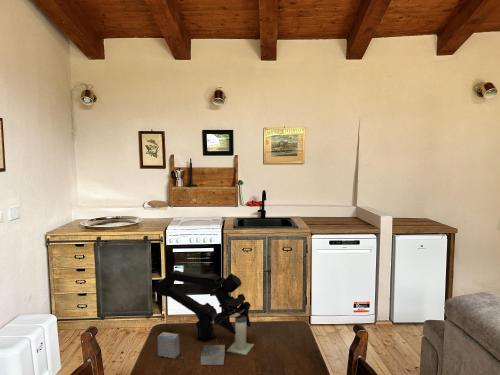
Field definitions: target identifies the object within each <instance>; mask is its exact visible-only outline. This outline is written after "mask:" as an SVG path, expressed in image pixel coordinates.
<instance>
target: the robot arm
mask: <svg viewBox="0 0 500 375" xmlns="http://www.w3.org/2000/svg"><path fill="white" fill-rule="evenodd" d="M174 282H180V283H182V282H183V283H187V284H193V285H197V286H200V287H201V288H203V289H206V290H208V291H210V294H209V297H214V296H215V298H216V299H217V302H218V303H219V305H218V307H219V308H221V309H222V310H223V311H221V312H218V311H217V309H216V308H215V306H213V305H211V304H210V303H209V302H205V303H204V304H202V303H200V302H198V301H197V300H195V299H194V298H192V297H191V296H189V295H187V294H186V293H185V292H183V291H181V290H180V289H178V288H177V287H176V285H175V283H174ZM242 284H243V283H242V281H241V279H240V278H239V276H237V275H236V274H234V273H230V274H229V275H228V276H227V277H226V278H225V277H222V276H219V275H217V273H205V274H198V273H194V272H193V273H192V272H186V271H180V270H178V269H175V270H173V271H172V272H170V273H169V274H168V275H167V276H166V277H164V278H163V277H162V278H161V279H159V281H158V280H157V281H156V282H155V283H154V285H153V289H154V292H155V293H156V294H157V295H160V296H162V297H166V298H171V299H172V300H173V301H175V302H177V303H178V304H180V305H181V306H183V307H185V308H186V309H188V310H189V311H191V312H192V313H194V314H195V316H196V318H197V321H196V323H195V326H196V328H197V337H196V338H195V339H196V340H197V341H203V342H207V343H208V342H210V341H211V340H212V339H213V338H214V337H215V333H214V331H215V330H214V329H215V328H214V327H213V326H214V325H215V326H219V327H222V328H224V329H226V330H227V331H228V332H230V333H231V334H233V335H235V334H236V332H235V327H234V326H233V324H232V322H231V320H230V317H231V316H234V315H235V314H239V315H238V316H240V315H242V316H246V318H247V320H246V327H249V328H250V327H251V326H252V325H251V321H250V317H249V310H250V309H251V307H252V305H251V304H250V302H249V301H246V296H245V295H244V294H243V293H240V294H237V297H234V295H233V296H232V295H230V293H231V294H232V293H234V292H235V291H236V290H237V289H238V288H240V287H241V286H242ZM213 323H214V324H213Z"/></svg>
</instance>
